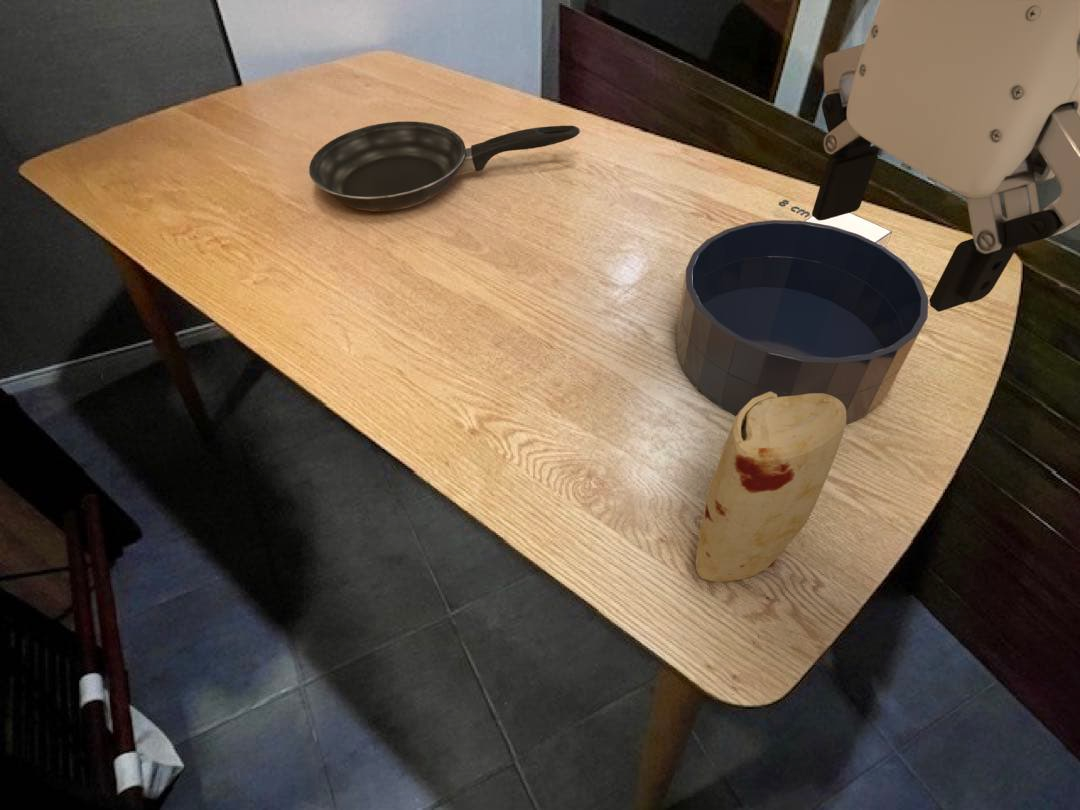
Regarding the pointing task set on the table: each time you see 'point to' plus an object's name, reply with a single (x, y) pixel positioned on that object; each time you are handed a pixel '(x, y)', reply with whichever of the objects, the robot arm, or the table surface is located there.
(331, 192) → the frying pan
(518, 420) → the table surface
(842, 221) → the container
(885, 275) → the pot
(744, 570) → the food model
